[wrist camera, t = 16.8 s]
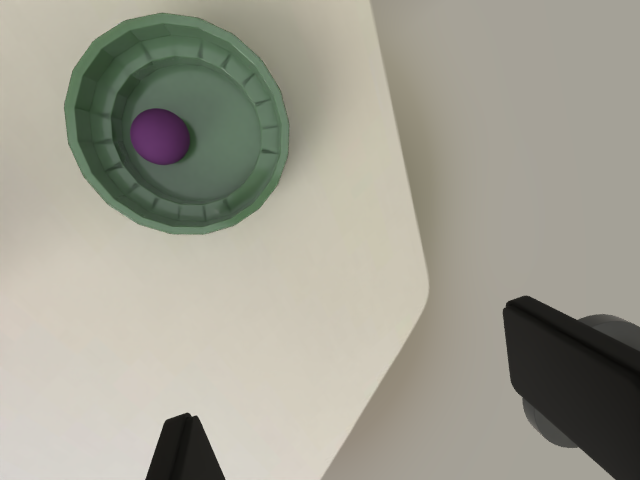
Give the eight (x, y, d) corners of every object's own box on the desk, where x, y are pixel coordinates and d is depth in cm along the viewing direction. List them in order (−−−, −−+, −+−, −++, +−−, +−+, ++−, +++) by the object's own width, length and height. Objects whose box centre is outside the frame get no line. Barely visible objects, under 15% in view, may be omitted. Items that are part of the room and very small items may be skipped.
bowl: (252, 21, 27) (254, -8, 22) (300, 195, 31) (310, 203, 26) (63, 62, 25) (21, 41, 20) (141, 242, 29) (120, 259, 24)
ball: (190, 100, 25) (131, 101, 22) (205, 156, 25) (149, 163, 23) (170, 115, 28) (116, 117, 25) (184, 165, 28) (133, 172, 26)
